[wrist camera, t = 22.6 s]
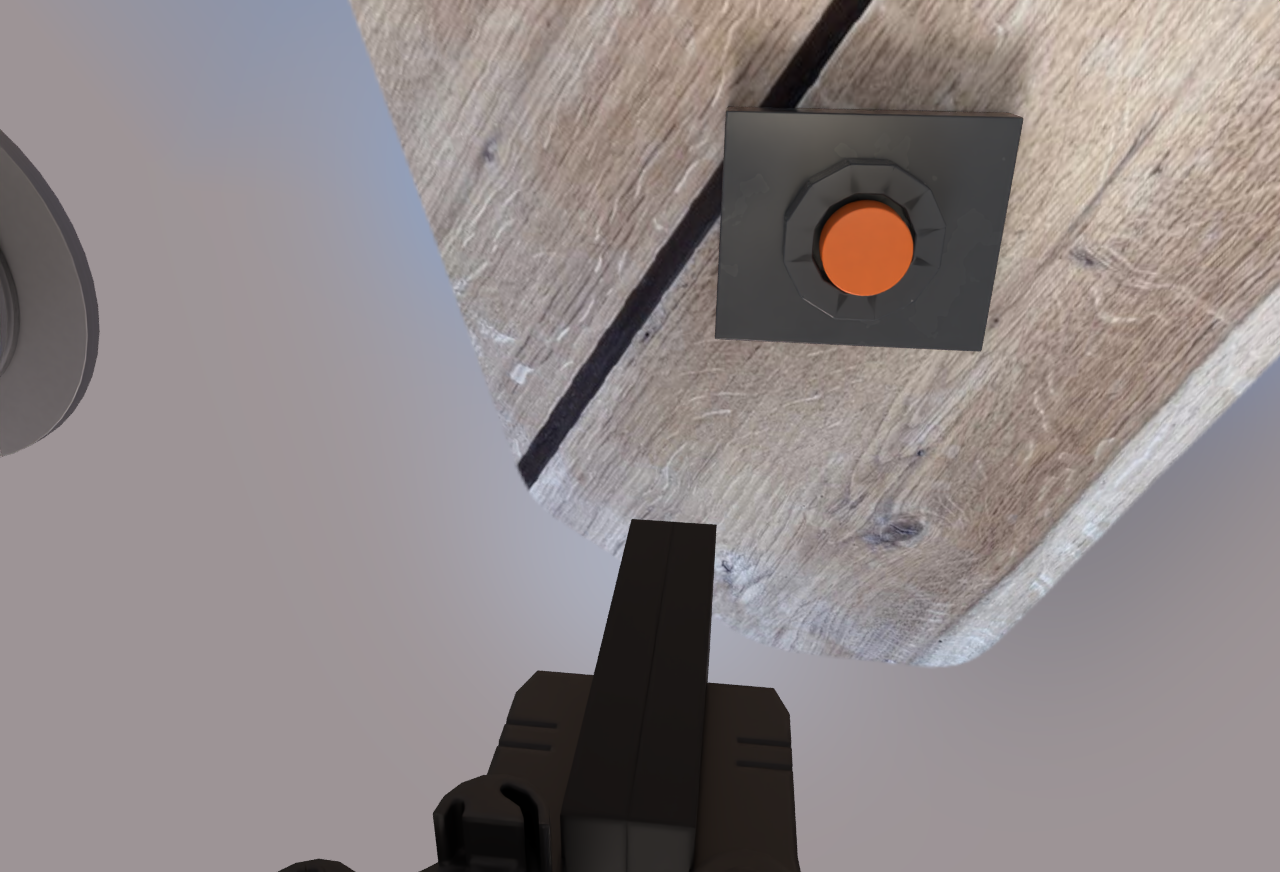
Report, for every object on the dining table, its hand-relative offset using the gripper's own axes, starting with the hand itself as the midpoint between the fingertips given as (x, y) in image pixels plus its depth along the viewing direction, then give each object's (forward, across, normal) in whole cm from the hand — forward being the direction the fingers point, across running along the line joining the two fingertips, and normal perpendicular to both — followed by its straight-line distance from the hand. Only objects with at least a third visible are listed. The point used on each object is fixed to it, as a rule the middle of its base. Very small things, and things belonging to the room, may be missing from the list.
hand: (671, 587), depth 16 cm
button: (+25, +6, +1) cm, 26 cm away
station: (+28, +6, +1) cm, 29 cm away
